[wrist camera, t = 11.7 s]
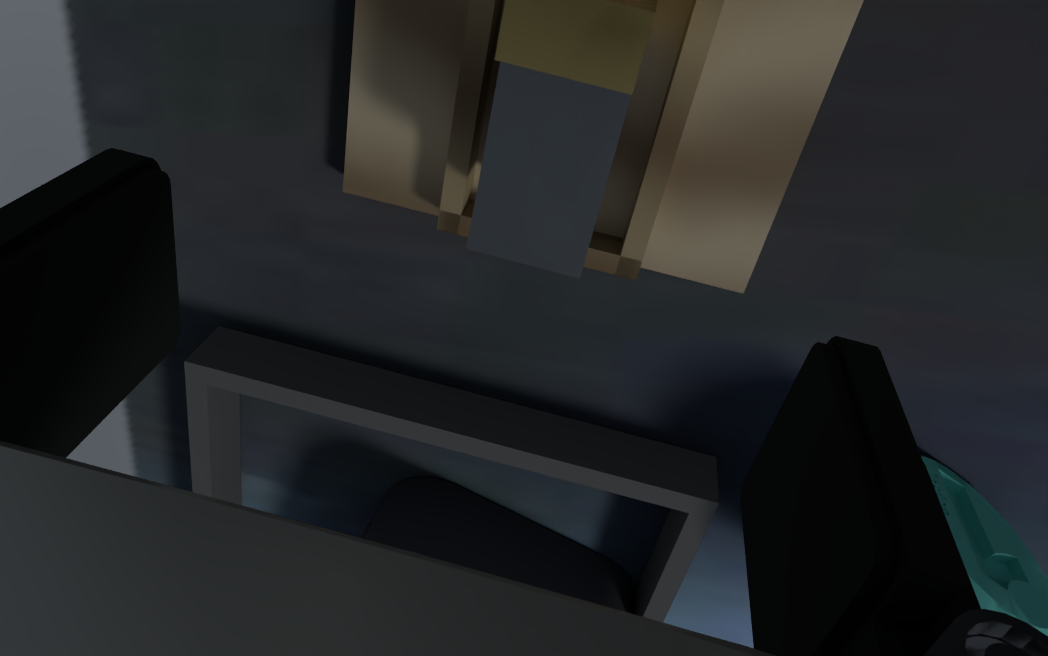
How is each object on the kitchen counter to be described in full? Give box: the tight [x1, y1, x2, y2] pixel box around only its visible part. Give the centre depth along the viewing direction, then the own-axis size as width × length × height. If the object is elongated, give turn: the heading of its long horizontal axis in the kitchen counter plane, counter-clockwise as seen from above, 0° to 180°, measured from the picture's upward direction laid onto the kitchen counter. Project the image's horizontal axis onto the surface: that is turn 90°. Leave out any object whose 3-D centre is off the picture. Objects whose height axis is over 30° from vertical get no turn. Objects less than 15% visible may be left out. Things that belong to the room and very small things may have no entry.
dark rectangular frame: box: [184, 326, 719, 622], centre depth 41 cm, size 24×24×3 cm
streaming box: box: [361, 478, 633, 614], centre depth 41 cm, size 14×14×5 cm
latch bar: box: [466, 0, 657, 279], centre depth 23 cm, size 8×4×7 cm, turn 168°
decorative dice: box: [921, 456, 1048, 636], centre depth 32 cm, size 8×8×8 cm
